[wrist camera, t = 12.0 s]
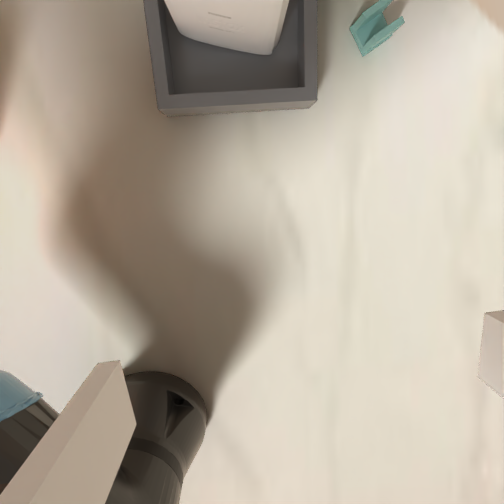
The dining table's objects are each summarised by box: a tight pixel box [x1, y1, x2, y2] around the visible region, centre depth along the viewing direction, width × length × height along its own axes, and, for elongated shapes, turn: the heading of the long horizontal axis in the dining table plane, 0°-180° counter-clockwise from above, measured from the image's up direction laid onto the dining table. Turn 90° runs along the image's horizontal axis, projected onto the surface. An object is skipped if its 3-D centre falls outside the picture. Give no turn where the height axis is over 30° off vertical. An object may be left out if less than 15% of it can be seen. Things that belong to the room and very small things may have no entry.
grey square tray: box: [143, 0, 317, 117], centre depth 27 cm, size 15×15×4 cm
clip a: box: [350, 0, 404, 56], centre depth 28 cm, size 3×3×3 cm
